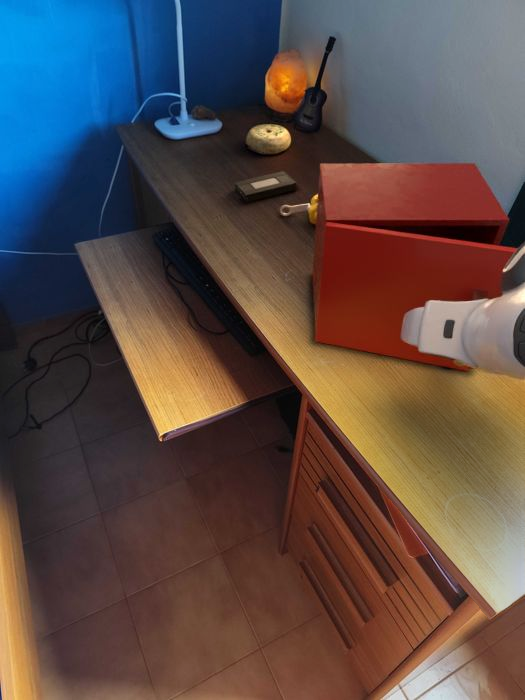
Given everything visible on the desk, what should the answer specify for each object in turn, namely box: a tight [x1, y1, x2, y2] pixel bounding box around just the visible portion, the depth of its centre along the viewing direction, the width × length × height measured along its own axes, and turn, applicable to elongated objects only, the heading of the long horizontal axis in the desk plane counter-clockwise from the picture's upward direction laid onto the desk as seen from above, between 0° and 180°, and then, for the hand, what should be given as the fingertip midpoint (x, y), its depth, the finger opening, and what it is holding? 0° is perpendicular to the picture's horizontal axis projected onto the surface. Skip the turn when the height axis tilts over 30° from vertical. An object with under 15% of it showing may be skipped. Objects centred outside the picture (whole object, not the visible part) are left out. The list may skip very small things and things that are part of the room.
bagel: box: [245, 123, 292, 155], centre depth 139 cm, size 14×13×5 cm
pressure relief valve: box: [279, 194, 318, 226], centre depth 110 cm, size 6×12×10 cm
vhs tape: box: [234, 170, 297, 203], centre depth 122 cm, size 8×14×2 cm, turn 115°
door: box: [315, 222, 519, 372], centre depth 70 cm, size 7×26×24 cm, turn 73°
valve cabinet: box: [311, 162, 510, 332], centre depth 81 cm, size 18×26×24 cm
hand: (468, 337), depth 68 cm, fingers closed on door, 2 cm apart
